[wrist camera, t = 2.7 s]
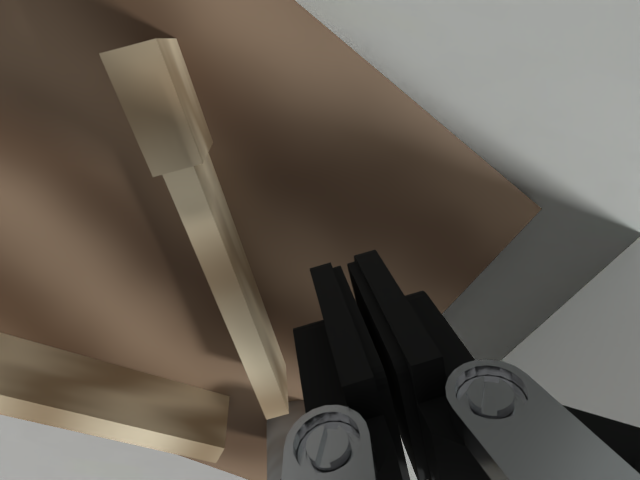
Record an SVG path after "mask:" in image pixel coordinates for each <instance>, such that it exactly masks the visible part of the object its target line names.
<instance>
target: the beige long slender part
mask: <svg viewBox="0 0 640 480" xmlns="http://www.w3.org/2000/svg"><path fill="white" fill-rule="evenodd" d="M229 397H230V396H227V395H223V394H219V393H216V392H212V391H209V390H205V389H201V388H198V387H194V386H191V385H187V384H183V383H180V382H176V381H173V380H169V379H165V378H162V377H158V376H155V375H151V374H147V373H144V372H140V371H137V370H133V369H130V368H126V367H122V366H119V365H115V364H112V363H108V362H104V361H101V360H97V359H94V358H90V357H86V356H83V355H79V354H76V353H72V352H68V351H65V350H61V349H58V348H54V347H50V346H47V345H43V344H40V343H36V342H32V341H29V340H25V339H22V338H18V337H15V336H11V335H7V334H4V333H0V414H1V415H5V416H10V417H14V418H18V419H23V420H27V421H32V422H36V423H41V424H45V425H49V426H54V427H58V428H63V429H67V430H71V431H76V432H80V433H85V434H89V435H93V436H98V437H102V438H107V439H111V440H116V441H120V442H124V443H129V444H133V445H138V446H142V447H146V448H151V449H155V450H160V451H164V452H168V453H173V454H177V455H182V456H186V457H191V458H195V459H199V460H204V461H208V462H213V463H216V462H217V461H218V459H219V457H220V455H221V454H222V452H223V450H224V449H225V439H226V429H227V418H228V408H229ZM288 405H289V414H286V415H282V416H279V417H275V418H271V419H268V420H267V480H280V479H281V477H282V465H283V452H284V445H285V441H286V437H287V434H288V433H289V431H290V429H291V427H292V426H293V424H294V423H295V422H296V421H297V420H298V419H299V418H300V417H301V416H302V415H304V414H306V413H305V406H304V400H296V401H290V402H288Z"/></svg>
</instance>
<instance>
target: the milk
mask: <svg viewBox="0 0 640 480" xmlns="http://www.w3.org/2000/svg"><path fill="white" fill-rule="evenodd" d="M501 361H504V362H506V363H509V364H511V365H514V366H516V367H518V368H519V369H521V370H522V371H524V372H525V373H527V374H528V375H529V376H530V377H531V378H532V379H533V380H534V381H536V382H537V383H538V384H539V385H540V386H541V387H542V388H543V389H545V390H546V391H547V392H548V393H549V394H550V395H551V396H552V397H554V398H555V399H556V400H557V401H558V402H559V403H560V404H561V405H564V406H568V407H571V408H575V409H578V410H581V411H585V412H588V413H592V414H595V415H599V416H602V417H605V418H609V419H612V420H616V421H619V422H622V423H626V424H629V425H633V426H636V427H639V428H640V237H639V238H638V239H637V240H636V241H634V242H633V243H632V244H631V245H630V246H629V247H628V248H627V249H625V250H624V251H623V252H622V253H621V254H620V255H619V256H618V257H616V258H615V259H614V260H613V261H612V262H611V263H610V264H609V265H608V266H606V267H605V268H604V269H603V270H602V271H601V272H600V273H599V274H597V275H596V276H595V277H594V278H593V279H592V280H591V281H590V282H588V283H587V284H586V285H585V286H584V287H583V288H582V289H581V290H579V291H578V292H577V293H576V294H575V295H574V296H573V297H572V298H570V299H569V300H568V301H567V302H566V303H565V304H564V305H563V306H561V307H560V308H559V309H558V310H557V311H556V312H555V313H554V314H553V315H551V316H550V317H549V318H548V319H547V320H546V321H545V322H544V323H542V324H541V325H540V326H539V327H538V328H537V329H536V330H535V331H533V332H532V333H531V334H530V335H529V336H528V337H527V338H526V339H524V340H523V341H522V342H521V343H520V344H519V345H518V346H517V347H515V348H514V349H513V350H512V351H511V352H510V353H509V354H508V355H507V356H505V357H504V358H503V359H502V360H501Z"/></svg>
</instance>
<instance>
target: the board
mask: <svg viewBox="0 0 640 480" xmlns="http://www.w3.org/2000/svg"><path fill="white" fill-rule="evenodd" d="M155 38H176V39H177V42H178V45H179V47H180V50H181V53H182V56H183V59H184V61H185V64H186V67H187V70H188V73H189V76H190V78H191V81H192V84H193V87H194V90H195V92H196V95H197V98H198V101H199V104H200V107H201V109H202V112H203V115H204V118H205V121H206V123H207V126H208V129H209V132H210V135H211V138H212V140H213V144H212V146H211V148H210V150H209V152H208V153H209V156H210V158H211V161H212V164H213V167H214V169H215V172H216V175H217V178H218V180H219V183H220V186H221V189H222V191H223V194H224V197H225V199H226V202H227V205H228V208H229V210H230V213H231V216H232V219H233V221H234V224H235V227H236V230H237V232H238V235H239V238H240V241H241V243H242V246H243V249H244V252H245V254H246V257H247V260H248V263H249V265H250V268H251V271H252V274H253V276H254V279H255V282H256V285H257V287H258V290H259V293H260V296H261V298H262V301H263V304H264V307H265V309H266V312H267V315H268V318H269V320H270V323H271V326H272V329H273V331H274V334H275V337H276V340H277V342H278V345H279V348H280V351H281V353H282V356H283V359H284V362H285V364H286V376H287V391H288V402H290V401H296V400H303V393H302V387H301V380H300V374H299V368H298V361H297V355H296V348H295V342H294V335H293V328H297V327H300V326H303V325H307V324H310V323H314V322H317V321H320V320H323V316H322V313H321V309H320V305H319V302H318V298H317V294H316V291H315V287H314V284H313V280H312V276H311V273H310V269H309V268H313V267H316V266H320V265H323V264H326V263H330V262H331V265H332V267H333V268H334V267H337V266H341V267H342V270H343V272H344V275H345V277H346V279H347V282H348V284H349V286H350V289H351V291H352V294H353V296H354V292H353V288H352V283H351V279H350V275H349V271H348V267H347V263H351V262H354V255H358V254H361V253H365V252H368V251H371V250H376V251H377V252H378V254H379V256H380V257H381V259H382V260H383V262H384V264H385V265H386V267H387V268H388V270H389V271H390V273H391V275H392V276H393V278H394V279H395V281H396V283H397V284H398V286H399V287H400V289H401V291H402V292H403V294H404V295H409V294H412V293H416V292H419V291H425V292H426V294H427V295H428V296H429V297H430V299H431V300H432V302H433V303H434V304H435V306H436V307H437V308H438V310H439V311H440V313H441V314H442V313H443V312H444V311H445V310H446V309H447V308H448V307H449V306H450V305H451V304H452V303H453V302H454V301H455V300H456V299H457V298H458V297H459V295H460V294H461V293H462V292H463V291H464V290H465V289H466V288H467V287H468V286H469V285H470V284H471V283H472V282H473V281H474V280H475V279H476V278H477V277H478V276H479V274H480V273H481V272H482V271H483V270H484V269H485V268H486V267H487V266H488V265H489V264H490V263H491V262H492V261H493V260H494V259H495V258H496V257H497V256H498V254H499V253H500V252H501V251H502V250H503V249H504V248H505V247H506V246H507V245H508V244H509V243H510V242H511V241H512V240H513V239H514V238H515V237H516V236H517V234H518V233H519V232H520V231H521V230H522V229H523V228H524V227H525V226H526V225H527V224H528V223H529V222H530V221H531V220H532V219H533V218H534V217H535V216H536V214H537V213H538V212H539V211H540V210H541V209H542V208H540V207H539V206H538V205H537V204H536V203H534V202H533V201H532V200H531V199H530V198H528V197H527V196H526V195H525V194H524V193H523V192H521V191H520V190H519V189H518V188H517V187H515V186H514V185H513V184H512V183H511V182H509V181H508V180H507V179H506V178H505V177H504V176H502V175H501V174H500V173H499V172H498V171H496V170H495V169H494V168H493V167H492V166H491V165H489V164H488V163H487V162H486V161H485V160H483V159H482V158H481V157H480V156H479V155H477V154H476V153H475V152H474V151H473V150H472V149H470V148H469V147H468V146H467V145H466V144H464V143H463V142H462V141H461V140H460V139H458V138H457V137H456V136H455V135H454V134H453V133H451V132H450V131H449V130H448V129H447V128H445V127H444V126H443V125H442V124H441V123H440V122H438V121H437V120H436V119H435V118H434V117H432V116H431V115H430V114H429V113H428V112H426V111H425V110H424V109H423V108H422V107H421V106H419V105H418V104H417V103H416V102H415V101H413V100H412V99H411V98H410V97H409V96H407V95H406V94H405V93H404V92H403V91H402V90H400V89H399V88H398V87H397V86H396V85H394V84H393V83H392V82H391V81H390V80H388V79H387V78H386V77H385V76H384V75H383V74H381V73H380V72H379V71H378V70H377V69H375V68H374V67H373V66H372V65H371V64H370V63H368V62H367V61H366V60H365V59H364V58H362V57H361V56H360V55H359V54H358V53H356V52H355V51H354V50H353V49H352V48H351V47H349V46H348V45H347V44H346V43H345V42H343V41H342V40H341V39H340V38H339V37H337V36H336V35H335V34H334V33H333V32H332V31H330V30H329V29H328V28H327V27H326V26H324V25H323V24H322V23H321V22H320V21H319V20H317V19H316V18H315V17H314V16H313V15H311V14H310V13H309V12H308V11H307V10H305V9H304V8H303V7H302V6H301V5H300V4H298V3H297V2H296V1H295V0H0V333H4V334H7V335H11V336H15V337H18V338H22V339H25V340H29V341H32V342H36V343H40V344H43V345H47V346H50V347H54V348H58V349H61V350H65V351H68V352H72V353H76V354H79V355H83V356H86V357H90V358H94V359H97V360H101V361H104V362H108V363H112V364H115V365H119V366H122V367H126V368H130V369H133V370H137V371H140V372H144V373H147V374H151V375H155V376H158V377H162V378H165V379H169V380H173V381H176V382H180V383H183V384H187V385H191V386H194V387H198V388H201V389H205V390H209V391H212V392H216V393H219V394H223V395H227V396H230V397H229V408H228V418H227V429H226V439H225V449H224V450H223V452H222V454H221V455H220V457H219V459H218V461H217V462H216V463H213V462H208V461H204V460H199V459H195V458H191V457H186V456H183V457H186V458H189V459H191V460H194V461H197V462H200V463H203V464H206V465H209V466H211V467H214V468H217V469H220V470H223V471H226V472H228V473H231V474H234V475H237V476H240V477H243V478H245V479H248V480H267V420H266V418H265V415H264V413H263V411H262V408H261V406H260V403H259V401H258V399H257V396H256V394H255V392H254V389H253V387H252V385H251V382H250V380H249V378H248V375H247V373H246V371H245V368H244V366H243V363H242V361H241V359H240V356H239V354H238V352H237V349H236V347H235V345H234V342H233V340H232V338H231V335H230V333H229V331H228V328H227V326H226V323H225V321H224V319H223V316H222V314H221V312H220V309H219V307H218V305H217V302H216V300H215V298H214V295H213V293H212V291H211V288H210V286H209V284H208V281H207V279H206V276H205V274H204V272H203V269H202V267H201V265H200V262H199V260H198V258H197V255H196V253H195V251H194V248H193V246H192V244H191V241H190V239H189V236H188V234H187V232H186V229H185V227H184V225H183V222H182V220H181V218H180V215H179V213H178V211H177V208H176V206H175V204H174V201H173V199H172V196H171V194H170V192H169V189H168V187H167V185H166V182H165V180H164V178H163V175H159V176H155V177H153V176H152V174H151V172H150V170H149V167H148V165H147V163H146V160H145V158H144V156H143V153H142V151H141V149H140V147H139V144H138V142H137V140H136V137H135V135H134V133H133V131H132V128H131V126H130V124H129V121H128V119H127V117H126V115H125V112H124V110H123V108H122V105H121V103H120V101H119V99H118V96H117V94H116V92H115V89H114V87H113V85H112V83H111V80H110V78H109V76H108V73H107V71H106V69H105V66H104V64H103V62H102V60H101V57H100V55H99V53H103V52H107V51H111V50H114V49H118V48H122V47H126V46H129V45H133V44H137V43H140V42H144V41H148V40H152V39H155ZM354 298H355V296H354ZM355 301H356V300H355ZM180 456H182V455H180Z"/></svg>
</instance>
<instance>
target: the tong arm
mask: <svg viewBox="0 0 640 480" xmlns="http://www.w3.org/2000/svg"><path fill="white" fill-rule="evenodd" d="M99 55H100V57H101V60H102V62H103V64H104V66H105V69H106V71H107V73H108V76H109V78H110V80H111V83H112V85H113V87H114V89H115V92H116V94H117V96H118V99H119V101H120V103H121V105H122V108H123V110H124V112H125V115H126V117H127V119H128V121H129V124H130V126H131V128H132V131H133V133H134V135H135V137H136V140H137V142H138V144H139V147H140V149H141V151H142V153H143V156H144V158H145V160H146V163H147V165H148V167H149V170H150V172H151V174H152V176H153V177H155V176H159V175H163V178H164V180H165V182H166V185H167V187H168V189H169V192H170V194H171V196H172V199H173V201H174V204H175V206H176V208H177V211H178V213H179V215H180V218H181V220H182V222H183V225H184V227H185V229H186V232H187V234H188V236H189V239H190V241H191V244H192V246H193V248H194V251H195V253H196V255H197V258H198V260H199V262H200V265H201V267H202V269H203V272H204V274H205V276H206V279H207V281H208V284H209V286H210V288H211V291H212V293H213V295H214V298H215V300H216V302H217V305H218V307H219V309H220V312H221V314H222V316H223V319H224V321H225V323H226V326H227V328H228V331H229V333H230V335H231V338H232V340H233V342H234V345H235V347H236V349H237V352H238V354H239V356H240V359H241V361H242V363H243V366H244V368H245V371H246V373H247V375H248V378H249V380H250V382H251V385H252V387H253V389H254V392H255V394H256V396H257V399H258V401H259V403H260V406H261V408H262V411H263V413H264V415H265V418H266V420H268V419H271V418H275V417H279V416H282V415H286V414H289V405H288V391H287V376H286V364H285V362H284V359H283V356H282V353H281V351H280V348H279V345H278V342H277V340H276V337H275V334H274V331H273V329H272V326H271V323H270V320H269V318H268V315H267V312H266V309H265V307H264V304H263V301H262V298H261V296H260V293H259V290H258V287H257V285H256V282H255V279H254V276H253V274H252V271H251V268H250V265H249V263H248V260H247V257H246V254H245V252H244V249H243V246H242V243H241V241H240V238H239V235H238V232H237V230H236V227H235V224H234V221H233V219H232V216H231V213H230V210H229V208H228V205H227V202H226V199H225V197H224V194H223V191H222V189H221V186H220V183H219V180H218V178H217V175H216V172H215V169H214V167H213V164H212V161H211V158H210V156H209V153H208V152H209V150H210V148H211V146H212V144H213V140H212V138H211V135H210V132H209V129H208V126H207V123H206V121H205V118H204V115H203V112H202V109H201V107H200V104H199V101H198V98H197V95H196V92H195V90H194V87H193V84H192V81H191V78H190V76H189V73H188V70H187V67H186V64H185V61H184V59H183V56H182V53H181V50H180V47H179V45H178V42H177V39H176V38H155V39H152V40H148V41H144V42H140V43H137V44H133V45H129V46H126V47H122V48H118V49H114V50H111V51H107V52H103V53H99Z"/></svg>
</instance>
